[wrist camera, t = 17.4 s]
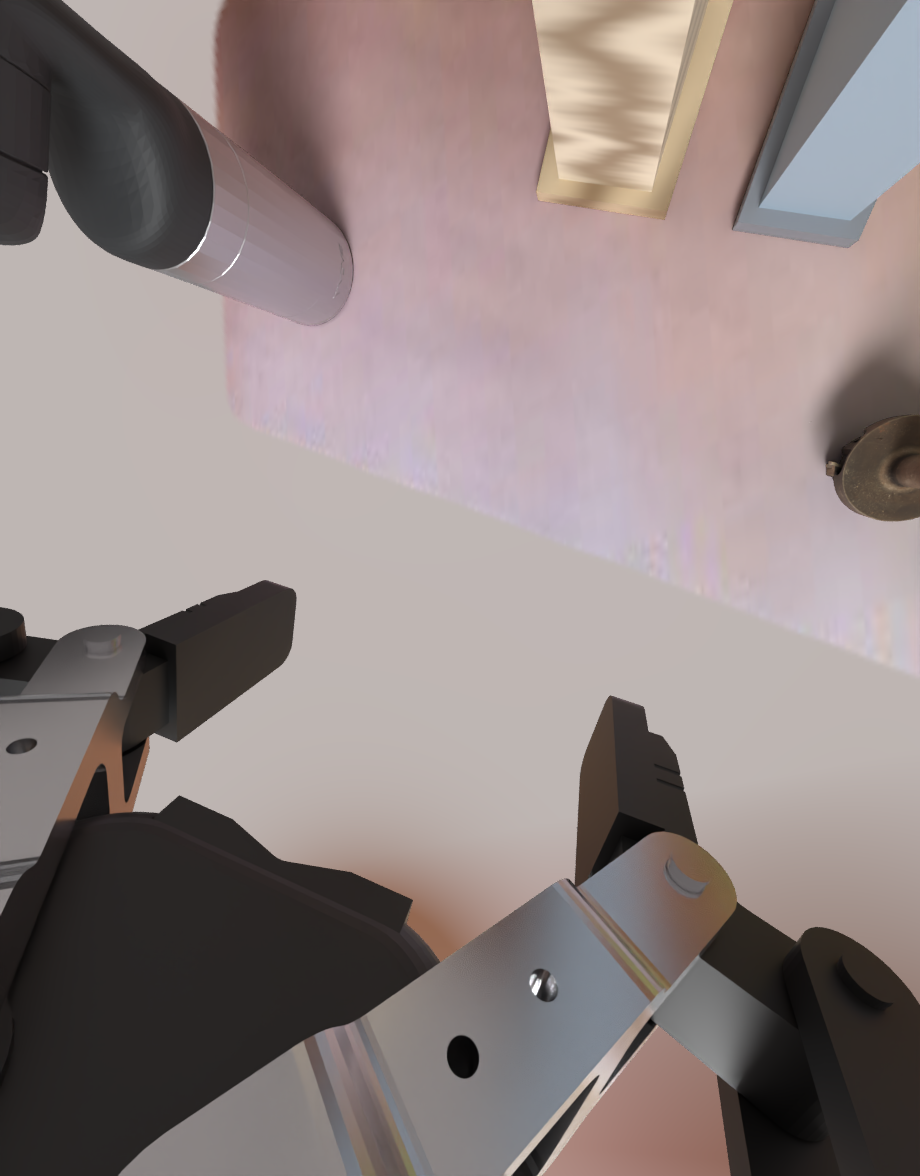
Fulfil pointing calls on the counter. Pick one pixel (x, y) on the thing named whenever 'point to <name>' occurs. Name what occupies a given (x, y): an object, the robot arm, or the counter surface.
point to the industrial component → (882, 470)
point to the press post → (839, 124)
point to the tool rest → (623, 97)
